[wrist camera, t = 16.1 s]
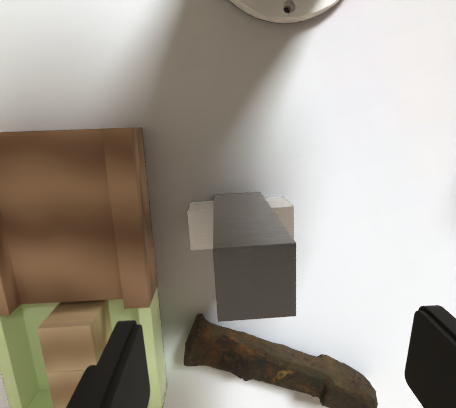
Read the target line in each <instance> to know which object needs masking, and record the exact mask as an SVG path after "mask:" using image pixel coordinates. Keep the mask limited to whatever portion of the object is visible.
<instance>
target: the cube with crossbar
mask: <svg viewBox="0 0 456 408" xmlns="http://www.w3.org/2000/svg"><path fill="white" fill-rule="evenodd" d="M187 216H188V228H189V239H190V250H206V249H213V256H214V270H215V285H216V299H217V314H218V322H219V321H233V320H247V319H261V318H275V317H289V316H296V242H295V241H294V206H293V205H292V204H291V203H290V202H289V201H288V200H287V199H286V198H285V197H284V196H281V197H263V195H262V194H261V192H253V193H237V194H220V195H214V201H199V202H191V203H190V206H189V209H188V212H187Z"/></svg>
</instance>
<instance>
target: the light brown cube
mask: <svg viewBox="0 0 456 408" xmlns="http://www.w3.org/2000/svg"><path fill="white" fill-rule="evenodd" d="M37 331H38V336H39V341H40V345H41V350H42V354H43V359H44V364H45V368H46V373H47V372H62V371H78V370H86V368H87V367H88V366H89V365H97V363H98V361H99V359H100V357H101V355H102V352H103V350H104V348H105V346H106V344H107V342H108V340H109V338H110V336H111V333H112V325H111V318H110V312H109V305H108V300H95V301H76V302H60V303H59V304H58V305H57V306H56V308H55V309H54V310H53V311H52V312H51V313H50V314H49V315H48V317H47V318H46V319H45V320H44V321H43V322H42V323H41V325H40V326H39V327H38V328H37Z"/></svg>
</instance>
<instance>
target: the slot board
mask: <svg viewBox="0 0 456 408" xmlns="http://www.w3.org/2000/svg"><path fill="white" fill-rule="evenodd" d="M156 288H157V277H156V267H155V257H154V247H153V236H152V226H151V216H150V206H149V196H148V185H147V175H146V165H145V155H144V145H143V134H142V128H110V129H84V130H55V131H25V132H0V315H10V314H11V313H12V312H13V311H14V310H15V309H16V308H17V307H19V306H20V305H21V304H37V303H56V302H76V301H95V300H114V299H123V302H124V309H130V308H149V307H150V305H151V302H152V299H153V296H154V294H155V291H156Z"/></svg>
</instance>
